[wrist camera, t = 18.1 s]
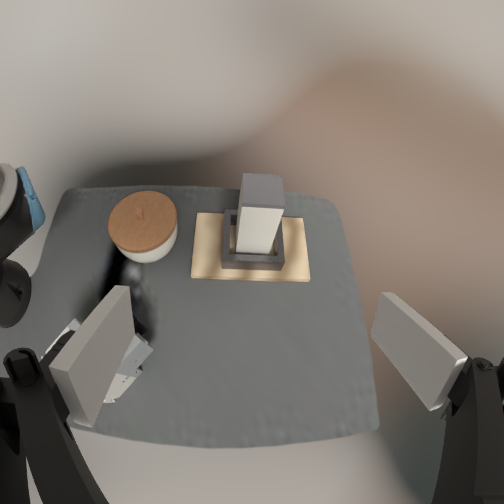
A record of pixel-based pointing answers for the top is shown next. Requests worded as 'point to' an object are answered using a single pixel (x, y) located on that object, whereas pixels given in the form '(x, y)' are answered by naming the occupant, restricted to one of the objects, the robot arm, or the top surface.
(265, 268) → the socket collar
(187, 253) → the top surface
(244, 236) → the power strip
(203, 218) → the mount board
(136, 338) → the circuit breaker
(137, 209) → the lidded bowl
